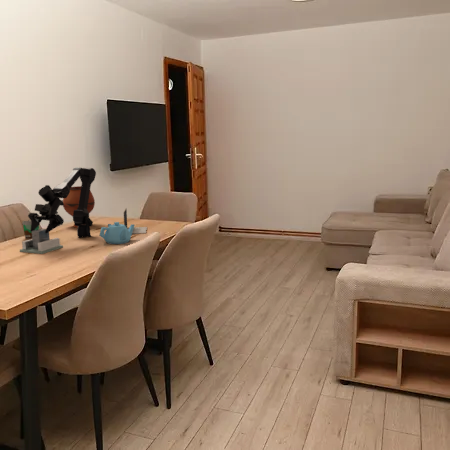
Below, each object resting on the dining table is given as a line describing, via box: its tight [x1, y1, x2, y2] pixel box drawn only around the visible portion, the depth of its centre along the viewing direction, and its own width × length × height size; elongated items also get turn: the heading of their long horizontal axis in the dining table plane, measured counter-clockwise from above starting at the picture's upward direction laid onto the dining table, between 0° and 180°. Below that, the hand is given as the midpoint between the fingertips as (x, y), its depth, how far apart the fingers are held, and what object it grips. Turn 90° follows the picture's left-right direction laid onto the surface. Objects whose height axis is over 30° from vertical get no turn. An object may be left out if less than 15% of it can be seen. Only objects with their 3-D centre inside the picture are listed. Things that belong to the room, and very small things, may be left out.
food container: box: [22, 219, 40, 239], centre depth 271 cm, size 12×6×10 cm, turn 168°
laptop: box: [123, 208, 148, 235], centre depth 285 cm, size 18×12×13 cm
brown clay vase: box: [62, 186, 96, 229], centre depth 300 cm, size 19×19×25 cm
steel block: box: [31, 228, 51, 249], centre depth 239 cm, size 4×7×9 cm, turn 158°
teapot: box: [99, 221, 135, 245], centre depth 256 cm, size 15×15×11 cm
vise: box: [19, 237, 64, 255], centre depth 240 cm, size 15×14×5 cm
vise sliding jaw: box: [21, 238, 33, 250], centre depth 242 cm, size 13×4×4 cm, turn 158°
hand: (38, 232), depth 238 cm, fingers open, 9 cm apart
